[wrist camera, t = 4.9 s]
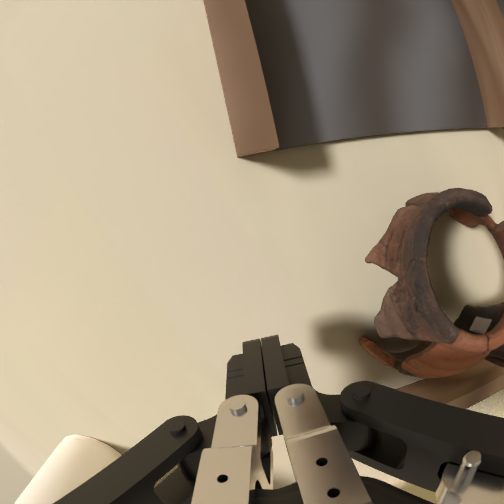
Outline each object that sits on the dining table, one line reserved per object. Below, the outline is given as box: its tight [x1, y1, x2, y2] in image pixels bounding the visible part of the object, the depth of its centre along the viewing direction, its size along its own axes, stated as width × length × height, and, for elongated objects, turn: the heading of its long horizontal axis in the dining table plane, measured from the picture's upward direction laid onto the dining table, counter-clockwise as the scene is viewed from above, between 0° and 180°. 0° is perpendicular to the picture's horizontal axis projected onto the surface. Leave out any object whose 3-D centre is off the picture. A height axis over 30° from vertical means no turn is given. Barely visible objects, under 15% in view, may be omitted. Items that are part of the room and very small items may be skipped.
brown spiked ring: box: [359, 188, 504, 378], centre depth 15 cm, size 12×10×8 cm
